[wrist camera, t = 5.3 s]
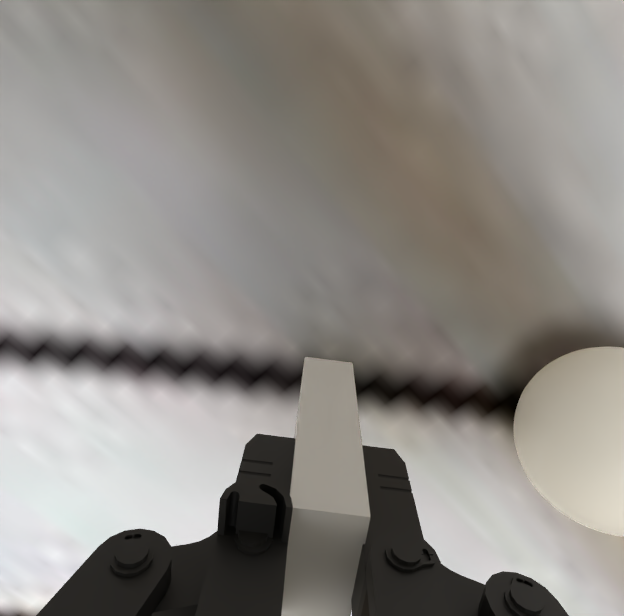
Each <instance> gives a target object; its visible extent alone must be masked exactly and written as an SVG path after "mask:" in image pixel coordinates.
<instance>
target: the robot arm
mask: <svg viewBox="0 0 624 616" xmlns="http://www.w3.org/2000/svg"><path fill="white" fill-rule="evenodd" d="M408 479H409V477H408V473H407V469H406V465H405V462H404V461H403V460H402V459H401V458H400V456H399V455H398V454H397V453H396V451H395V450H394V449H386V448H378V447H370V446H362V439H361V431H360V422H359V414H358V405H357V397H356V388H355V379H354V371H353V363H351V362H343V361H335V360H327V359H319V358H311V357H305V359H304V367H303V374H302V382H301V389H300V397H299V404H298V412H297V419H296V427H295V435H294V438H287V437H279V436H271V435H263V434H256V435H255V436H254V437H253V438H252V439H251V440H250V441H249V442H248V443H247V444H246V446H245V450H244V453H243V457H242V461H241V465H240V468H239V473H238V476H237V480H236V483H234V484H233V485H231V486H230V487H228V488H227V489H226V490H225V491H224V493H223V495H222V496H221V498H220V506H219V518H218V531H217V532H215V533H214V534H213V535H211V536H210V537H208V538H206V539H204V540H201V541H199V542H195V543H191V544H186V545H179V546H173V547H171V546H170V544H169V543H168V541H167V540H166V538H165V537H164V536H162V535H160V534H158V533H157V532H155V531H151V530H145V529H135V530H128V531H123V532H121V533H119V534H116V535H114V536H112V537H110V538H109V539H107V540H106V541H105V542H104V543H103V544H101V545H100V546H99V547H98V548H97V549H96V550H95V551H94V552H93V553H92V555H91V556H90V557H89V558H88V559H87V560H86V561H85V562H84V563H83V565H82V566H81V567H80V568H79V569H78V570H77V571H76V572H75V573H74V574H73V576H72V577H71V578H70V579H69V580H68V581H67V582H66V583H65V584H64V586H63V587H62V588H61V589H60V590H59V591H58V592H57V593H56V594H55V596H54V597H53V598H52V599H51V600H50V601H49V602H48V603H47V604H46V605H45V607H44V608H43V609H42V610H41V611H40V612H39V613H38V614H37V615H36V616H350V615H351V610H352V616H569V615H568V614H567V613H566V611H565V610H564V609H563V607H562V606H561V605H560V603H559V602H558V601H557V599H556V598H555V597H554V596H553V595H552V594H551V593H550V592H549V591H548V590H547V589H546V588H545V587H543V586H542V585H540V584H539V583H537V582H536V581H534V580H533V579H531V578H529V577H526V576H524V575H521V574H518V573H514V572H500V573H497V574H494V575H492V576H491V577H490V579H489V580H488V581H487V582H486V585H484V584H481V583H479V582H476V581H474V580H471V579H469V578H466V577H464V576H461V575H459V574H457V573H455V572H453V571H451V570H449V569H448V568H446V567H445V566H444V565H442V564H441V562H440V560H439V558H438V556H437V554H436V552H435V550H434V549H433V548H432V547H431V546H430V545H429V544H428V543H427V542H426V541H425V540H424V539H423V535H422V531H421V526H420V522H419V518H418V514H417V510H416V506H415V502H414V498H413V494H412V493H411V491H412V490H411V485H410V481H409V480H408Z"/></svg>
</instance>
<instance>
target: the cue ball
mask: <svg viewBox="0 0 624 616" xmlns="http://www.w3.org/2000/svg"><path fill="white" fill-rule="evenodd" d="M513 428H514V442H515V446H516V450H517V454H518V458H519V460H520V463H521V465H522V467H523V469H524V471H525V473H526V475H527V477H528V478H529V480H530V481H531V483H532V484H533V486H534V487H535V488H536V490H537V491H538V492H539V493H540V494H541V495H542V496H543V497H544V498H545V499H546V500H547V501H548V502H549V503H550V504H551V505H552V506H553V507H554V508H556V509H557V510H558V511H560V512H561V513H562V514H564V515H565V516H567V517H568V518H570V519H572V520H573V521H575V522H577V523H579V524H581V525H583V526H586V527H588V528H590V529H593V530H596V531H599V532H603V533H606V534H610V535H615V536H622V537H624V348H622V347H608V346H607V347H593V348H586V349H581V350H577V351H574V352H571V353H568V354H566V355H563V356H561V357H559V358H557V359H555V360H554V361H552V362H550V363H549V364H547V365H546V366H545V367H543V368H542V369H541V370H540V371H539V372H538V373H536V375H535V376H534V377H533V378H532V379H531V380H530V381H529V383H528V384H527V386H526V387H525V389H524V390H523V392H522V394H521V396H520V398H519V401H518V404H517V407H516V412H515V416H514V427H513Z"/></svg>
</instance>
